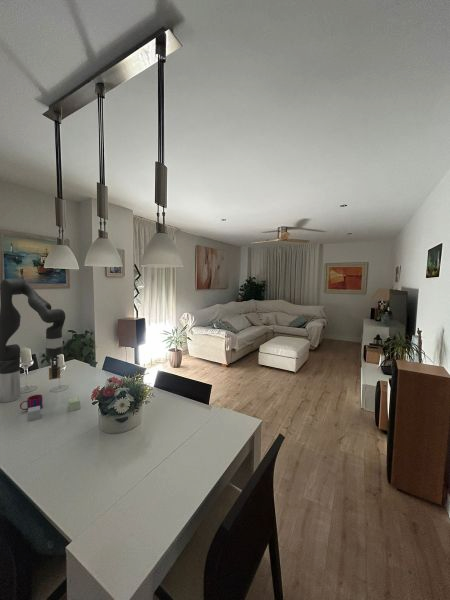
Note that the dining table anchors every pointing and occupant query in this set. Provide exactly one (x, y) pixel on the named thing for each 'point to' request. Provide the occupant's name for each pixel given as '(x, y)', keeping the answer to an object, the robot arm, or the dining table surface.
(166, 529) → the dining table surface
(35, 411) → the slate cube
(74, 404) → the sage cube
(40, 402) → the mug
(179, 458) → the dining table surface
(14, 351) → the robot arm
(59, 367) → the walnut cube
